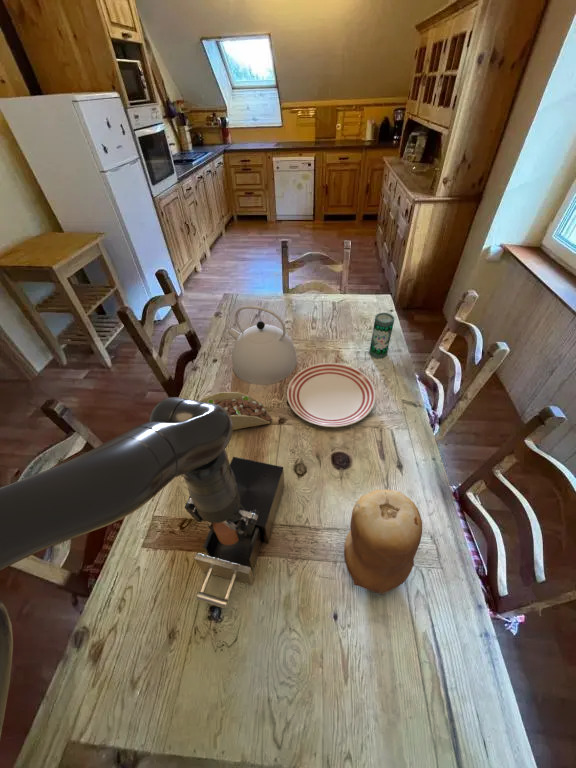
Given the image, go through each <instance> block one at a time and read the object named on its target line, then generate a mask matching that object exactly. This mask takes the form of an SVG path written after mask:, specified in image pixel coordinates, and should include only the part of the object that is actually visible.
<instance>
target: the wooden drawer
mask: <svg viewBox="0 0 576 768" xmlns="http://www.w3.org/2000/svg"><path fill="white" fill-rule="evenodd" d="M262 540H263V531H262V528H261V527H257V526H255V527H254V530H253V533H252V535H248V534H247V536H246V538H243V540H238V541H237V542H236V543H235V544H232V545H224V544H222V543H221V542H220V541H219V540H218V538H217V535H216V533H212V531H211V530H210V529H209V531H208V534H207V536H206V539H205V541H204V543H203V546H202V548H203V550H204V552H205V554H202V553H199V552H196V553H195V556H194V558H193V560H194V561H195V563H196V565H197V566H198V568H199V569H200V570H201V572H203V573H206V576H205V578H204V581H203V584H202V586H201V589H200V591H198V592H197V595H196V598H195V599H196V601H199V602H201V603H205V604H208V605H212V606H215V607H219V608H222V609H224V610H226V609H228V607H229V604H230V601H229V599H230V596H231V593H232V590H233V588H234V584H235V582H239V583H242V584H246V585H250V586H253V585H254V582H255V577H254V575H253V572H254V569H255V566H256V563H257V560H258V556H259V554H260V553H259V552H260V549H261V547H262ZM212 575H214V576H217V577H222V578H225V579H229V580H230V582H229V584H228V588H227V591H226V594H225V596H224V598H222V597H219V596H216V595H213V594H209V593H206V592H205V591H206V589H207V587H208V586H207V585H208V584H209V581H210V578H211V576H212Z"/></svg>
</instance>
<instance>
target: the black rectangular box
mask: <svg viewBox="0 0 576 768" xmlns="http://www.w3.org/2000/svg"><path fill="white" fill-rule="evenodd" d="M229 463H230V467H231V469H232V471H233V473H234V476H235V480H236V483H237V487H238V491H239V494H240V504H241V505H242V506H243V507H244V511H247V512H250V511H251V512H252V511H253V510H258V511H259V514H258V518H257V521H256V524H255V526H257V527H261V528H262V531H263V540H262V543H263V544H266V545H269V543H270V539H271V536H272V532H273V529H274V525H275V523H276V519H277V514H278V511H279V507H280V504H281V501H282V497H283V494H284V491H285V488H286V487H285V473H284V471H285V470H284V466H280V465H275V464H271V463H265V462H260V461H256V460H252V459H246V458H242V457H236V456H233V457H232V459H231V460H230V462H229ZM262 543H261V544H262Z"/></svg>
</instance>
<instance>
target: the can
mask: <svg viewBox="0 0 576 768" xmlns="http://www.w3.org/2000/svg"><path fill="white" fill-rule="evenodd" d="M394 323H395V316H394V315H393V314H391V313H389V312H379V313H376V315H375V317H374V322H373V328H372V333H371V340H370V346H369V351H368V352H369V353H368V355H370V356H371V357H372V358H374V359H384V358H386V357H387V355H388V351H389V346H390V341H391V337H392V332H393V327H394Z"/></svg>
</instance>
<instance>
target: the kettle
mask: <svg viewBox="0 0 576 768" xmlns="http://www.w3.org/2000/svg"><path fill="white" fill-rule="evenodd" d="M246 309H249V310H250V309H251V310H258V311H262V312H263V311H264V312H266V313H268V314H271V315H272V316H273V317H274V318H276V319H277V320H278V321H279V322H280V324H281V327H282V329H281V328H280V327H277V326H275V325H273V324H272V325H271V324H267V323H266V324H265V322H263V321H262V320H260V321H259V320H258V321H257V323H256V325H253V326H250V327H248V328H246V329H245V330H243V328H242V326H241V325H240V323H239V319H238V314H239V312H240V311H242V310H246ZM234 320H235V323H236V326H237V328H238V329H239V331H240V332H239V331H238V330H236V329H234V327H230V328H228V329H226V332H227V334H229V335H230V336H231V338H233V339H234V340H235V341H234V343H233V346H232V351H231V363H232V369H233V372H234V373H235V375H236V376H237V378H239V379H240V380H241V381H243V382H246V383H248V384H252V385H259V386H260V385H262V386H263V385H271V384H272V385H273V384H275V383H279V382H281V381H284V380H285V379H287V378H288V377H290V376H291V375H292V373H293V372H294V371H295V369H296V367H297V354H296V348H295V345H294V343H293V341H292V339H291V337H290V336H289V335H288V334H287V333H286V331H287V330H286V325H285V323H284V321H283V319H282V318H281V317H280V316H279V315H278V314H277V313H275V312H274V311H272V310H271V309H268V308H264V307H261V306H255V305H244V306H240V307H239V308H237V309H236V311H235V313H234Z"/></svg>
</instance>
